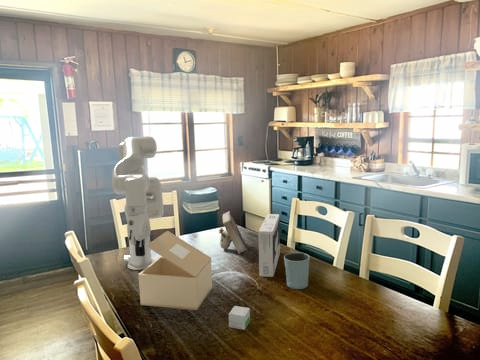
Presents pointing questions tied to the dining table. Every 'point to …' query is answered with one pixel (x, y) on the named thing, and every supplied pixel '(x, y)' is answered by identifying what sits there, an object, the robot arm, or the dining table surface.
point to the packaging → (269, 245)
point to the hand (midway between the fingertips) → (140, 255)
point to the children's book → (231, 234)
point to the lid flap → (179, 253)
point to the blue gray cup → (297, 269)
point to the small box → (239, 317)
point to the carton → (173, 286)
